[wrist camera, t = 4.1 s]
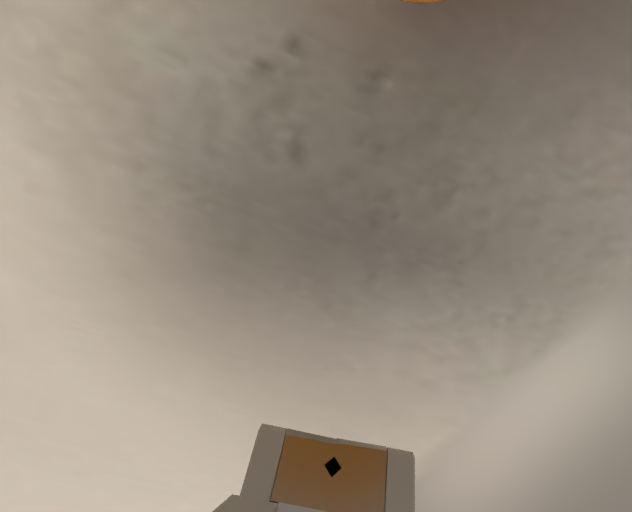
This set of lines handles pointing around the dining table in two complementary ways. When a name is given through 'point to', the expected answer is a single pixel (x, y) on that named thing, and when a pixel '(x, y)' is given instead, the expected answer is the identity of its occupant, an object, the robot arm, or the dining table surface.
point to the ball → (422, 1)
